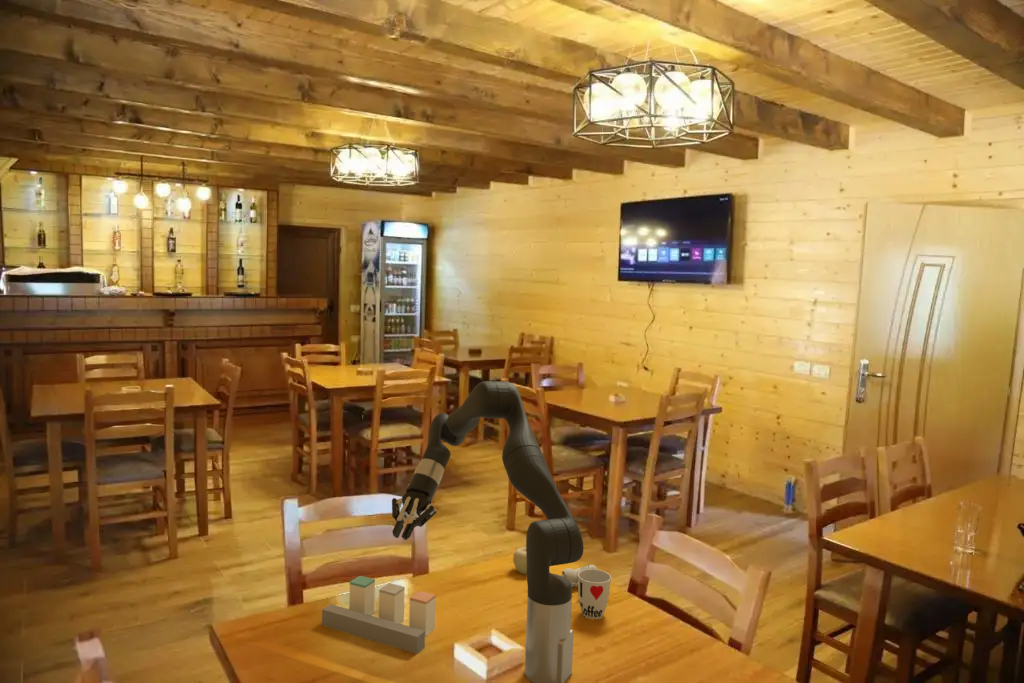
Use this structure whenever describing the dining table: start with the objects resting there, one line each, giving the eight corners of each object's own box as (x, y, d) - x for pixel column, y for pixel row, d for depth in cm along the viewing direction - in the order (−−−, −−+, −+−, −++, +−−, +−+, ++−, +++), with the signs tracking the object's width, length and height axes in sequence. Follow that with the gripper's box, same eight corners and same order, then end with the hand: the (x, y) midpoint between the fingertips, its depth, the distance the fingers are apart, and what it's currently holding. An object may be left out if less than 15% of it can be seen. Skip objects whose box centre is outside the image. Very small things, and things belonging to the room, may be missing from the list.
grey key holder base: (454, 626, 167) (454, 606, 167) (417, 659, 153) (417, 637, 152) (364, 602, 178) (364, 583, 178) (322, 630, 164) (322, 609, 163)
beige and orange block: (434, 628, 163) (435, 594, 163) (425, 636, 160) (426, 601, 159) (418, 624, 165) (419, 590, 164) (409, 632, 162) (409, 597, 161)
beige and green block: (374, 611, 171) (374, 579, 170) (364, 619, 167) (364, 585, 166) (359, 607, 172) (360, 575, 172) (349, 614, 169) (349, 581, 168)
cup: (571, 617, 174) (573, 578, 173) (583, 604, 181) (585, 566, 180) (602, 625, 170) (604, 585, 169) (613, 612, 177) (615, 573, 176)
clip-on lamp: (547, 616, 180) (612, 595, 184) (543, 594, 179) (609, 574, 183) (534, 591, 192) (595, 572, 195) (530, 571, 190) (592, 552, 194)
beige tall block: (403, 620, 167) (404, 586, 166) (394, 627, 163) (394, 593, 163) (388, 615, 169) (389, 582, 168) (378, 623, 165) (379, 589, 164)
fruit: (544, 572, 199) (545, 545, 199) (525, 579, 194) (526, 551, 194) (525, 564, 205) (526, 537, 204) (507, 570, 200) (508, 543, 199)
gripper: (399, 468, 193) (371, 525, 183) (443, 476, 187) (416, 535, 177) (409, 482, 198) (383, 539, 188) (452, 490, 192) (427, 549, 182)
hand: (399, 537), depth 182 cm, fingers closed
